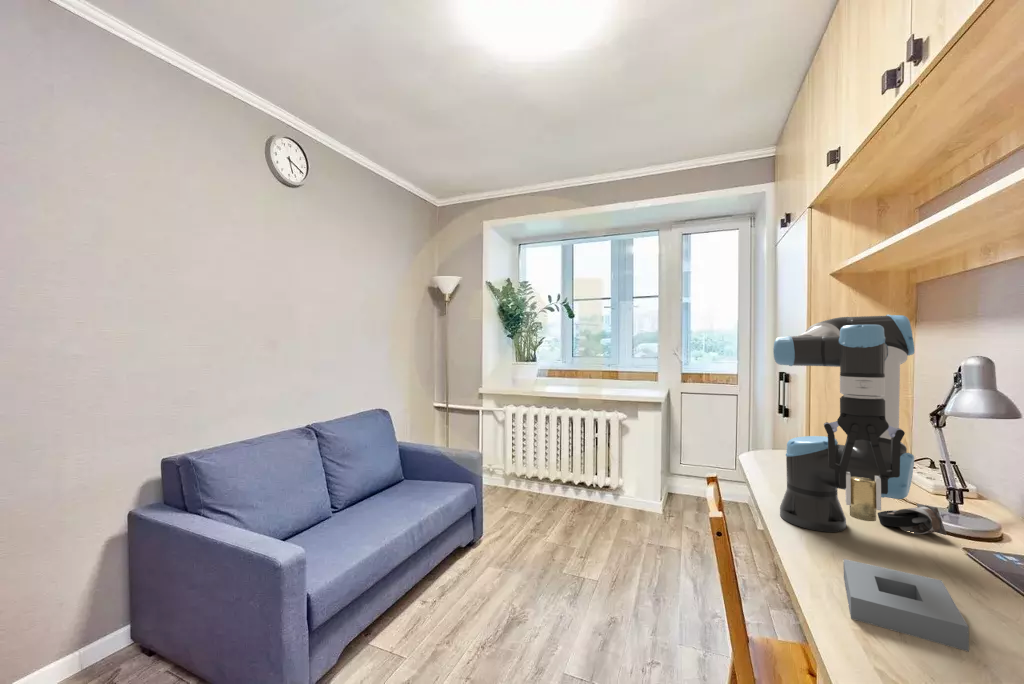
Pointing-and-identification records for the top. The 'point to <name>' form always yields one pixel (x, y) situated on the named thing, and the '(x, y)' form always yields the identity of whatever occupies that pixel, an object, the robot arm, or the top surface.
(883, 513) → the caster wheel
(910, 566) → the top surface
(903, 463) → the robot arm
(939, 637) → the jig
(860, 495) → the gold metal cylinder
